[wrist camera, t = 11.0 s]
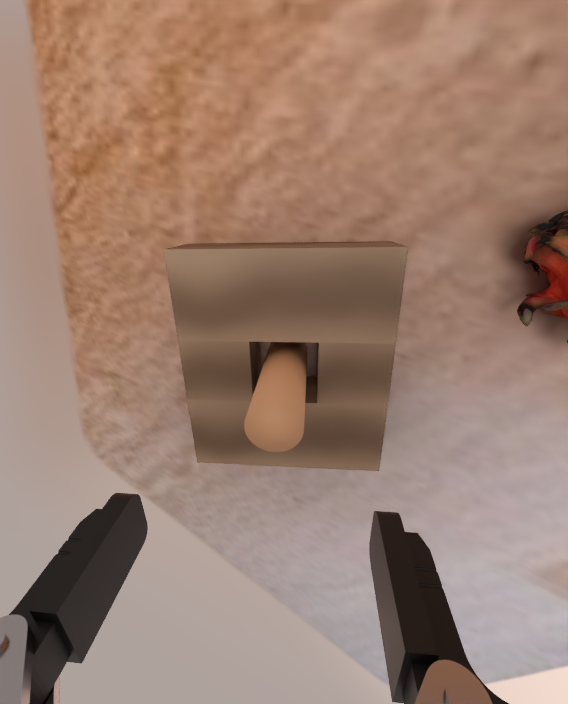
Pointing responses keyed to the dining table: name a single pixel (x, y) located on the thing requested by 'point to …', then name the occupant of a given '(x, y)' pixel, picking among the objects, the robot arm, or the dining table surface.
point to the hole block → (289, 326)
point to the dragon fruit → (548, 269)
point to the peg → (279, 399)
